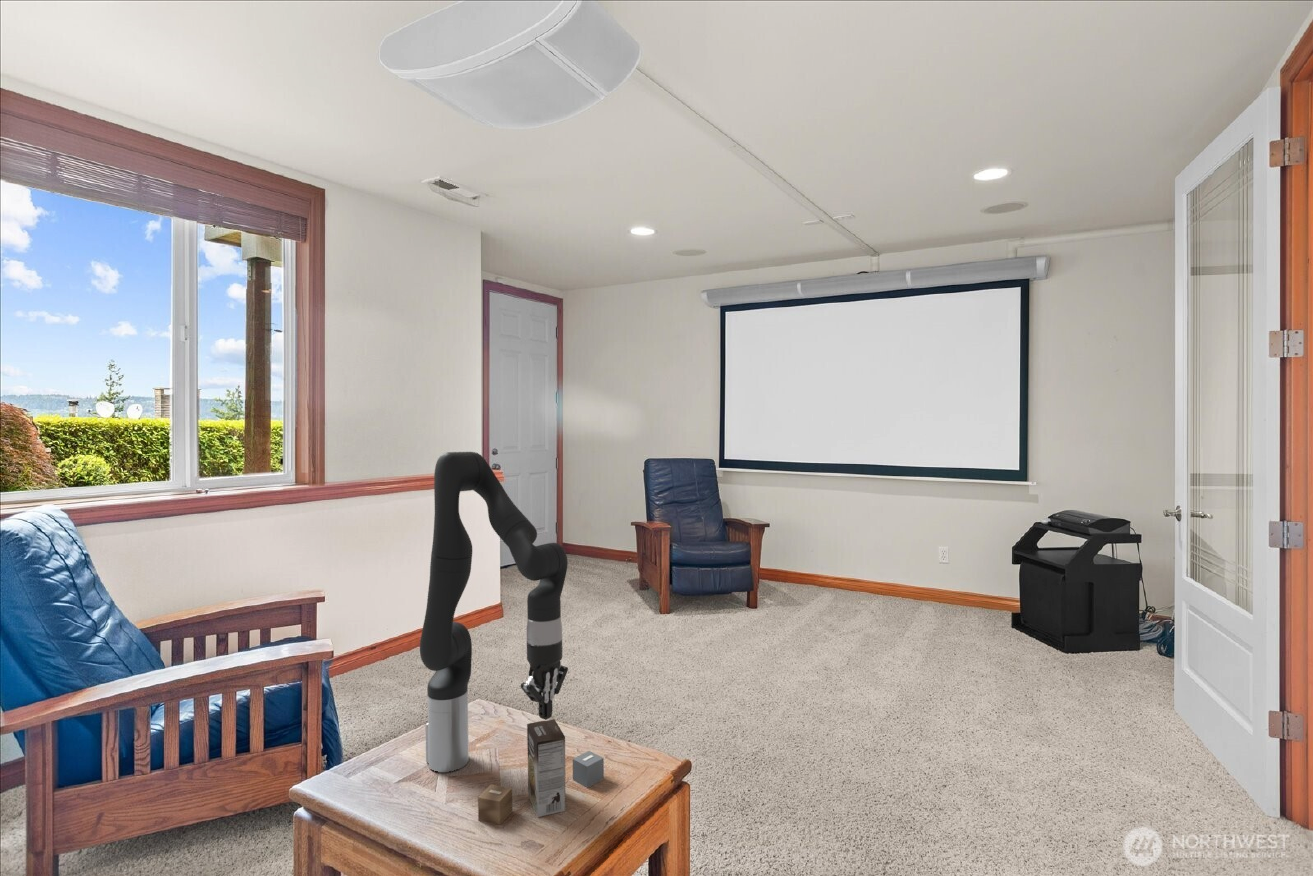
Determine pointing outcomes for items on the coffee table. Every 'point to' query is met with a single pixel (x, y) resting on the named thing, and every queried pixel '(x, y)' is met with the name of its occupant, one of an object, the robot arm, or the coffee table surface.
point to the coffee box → (546, 767)
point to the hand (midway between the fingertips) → (545, 717)
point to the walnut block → (495, 804)
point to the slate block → (588, 769)
